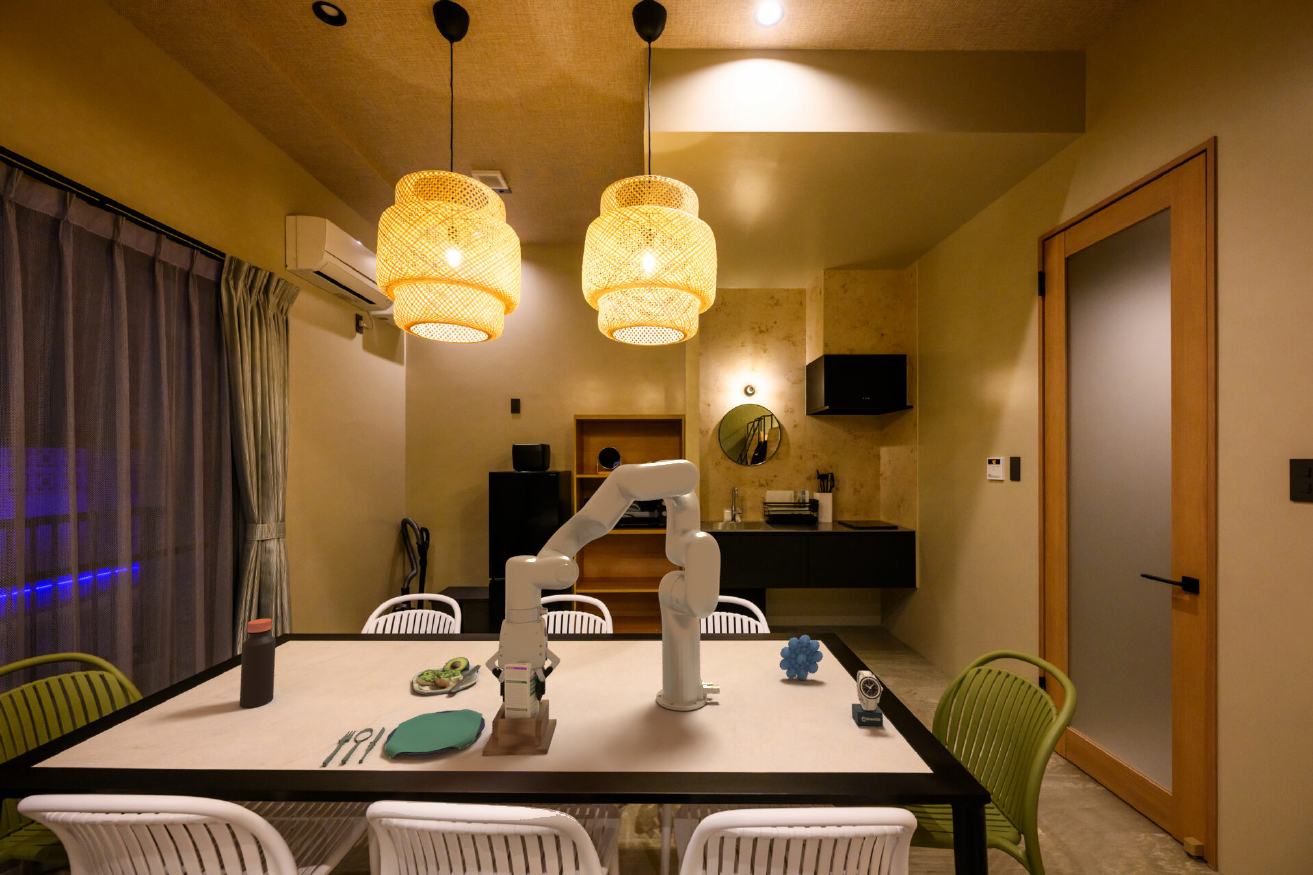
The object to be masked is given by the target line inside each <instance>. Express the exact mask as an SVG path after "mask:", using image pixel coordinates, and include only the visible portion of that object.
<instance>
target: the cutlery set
mask: <svg viewBox="0 0 1313 875" xmlns="http://www.w3.org/2000/svg"><path fill="white" fill-rule="evenodd" d="M485 720H486V719H485V718H484V717H483V713H480V712H478V711H476V710H473V709H470V708H463V709H458V710H453V709H452V710H443V711H436V712H429V713H428V712H427V713H422V714H418V715H416V716H414V717H412V718H410V719H407V720H405V721H402V722H401V723H398V726H397V727H395V728H394V729H393V730H392V731H390V733H389V734H388V735H387V737H386V741H385V746H384V753H385V754H386V756H387V757H388V758H391V759H394V757H395V756H396V755H402V756H408V757H418V756H419V757H420V756H423V757H424V756H426V757H427V756H430V755H431V756H432V755H437V754H441V753H446V752H448V751H452V750H454V749H457V748H458V749H459V750H462V749H463V748H466V747H468V746H470V745H471V744H473V743H474V741H475V740H476V738H477V737H478V736H479V735H481V734H482V732H483V731H484V729H485V727H486V721H485ZM356 732H357V730H354V731H353V730H352V731H348V732H347V733H346V734H345V735H344V736H342V737H341V738H340V739H338V745H337V746H336V747H335V749H334V750H333V751H332V752H331V753H330V754H329V755H328V756H327V757H326V758H325V759H324V760H323V761H322V767H327V766H328V765H329V763H330V762H331V761H332V760H333V759H334V757H335V756H336V755H337V753H338V752H339V751H340V750H341V748H342V747H343V745H345V744H346V743H349V742H350V741H351V739H352V738H353V736H354V734H356ZM368 732H369V733H370V735H369V736H368V737H365V738H363V739H357V738H358V737H359V736H360V735H361V734H364V733H368ZM385 732H386V728H385V726H384V727H383V726H382V728H381V729H380V730H379V732H378V733H377V734H376V736H375V738H374V739H373V740H372V741H369V744H368V745H367V749H366V750H365V752H364V754H363V756H362V757H360V759H359V760H358V764H363V762H364V759H365V758H366V756H367V755H368V753H370V751H371V750H372V749H374V747H375V746H376V744H377V742H378V741H380V739H381V737H382V736H383V735H384V733H385ZM373 733H374V729H373V728H372V727H368V728H364V729H362V730H360V731H359V732H358V733H357V734H356V735H355V738H354V740H355V741H357V743H355V744H354V745H353V747H352V748H350V749H349V750H348V751H347V753H346V754H345V755H344V756H343V758H342V759H341V761H340V762H341V764H346V763H347V762H348V761H349V759H350V758H351V756H352V754H353V753H354V752H355V750H356V749H357V747H358V746H359V745H360V744H361V743H362V742H364V741H366V740H368V739H369V738H370V737H372V735H373Z"/></svg>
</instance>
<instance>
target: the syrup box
mask: <svg viewBox="0 0 1313 875" xmlns="http://www.w3.org/2000/svg"><path fill="white" fill-rule="evenodd" d="M538 680H539V677H538V675H537V673H536V671H535V669H532V665H531V663H528V662H516V663H508V664H506V665H505V719H508V718H537V715H538V713H539V710H540V708H541V704H540V701H538V700H537V682H538Z"/></svg>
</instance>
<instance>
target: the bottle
mask: <svg viewBox="0 0 1313 875" xmlns="http://www.w3.org/2000/svg"><path fill="white" fill-rule="evenodd" d="M272 622H273V619H272V618H258V619H253V620H250V621H248V622H247V630H246V632H247V635H248V637H247V638H246V639H245V640H244V641H243V642H242V644H241V661H240V662H241V665H240V685H239V686H240V688H239V690H240V691H239V692H240V693H239V707H241V708H243V709H251V708H258V707H262V706H265V705H267V704H269V703H271V702H272V701H273V700H274V689H275V688H274V686H275V664H276V663H275V661H276V638H275V637H274V636H273V635H272V634H270V632H272V627H273V626H272V625H273V624H272Z"/></svg>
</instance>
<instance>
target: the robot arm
mask: <svg viewBox="0 0 1313 875" xmlns="http://www.w3.org/2000/svg"><path fill="white" fill-rule="evenodd" d="M700 478H701V476H700V471H699V469H698V467H697V466H696V465H695V463H693V462H692V461H689V460H686V459H664V460H663V459H661V460H657V461H654V462H653V463H633V464H632V463H631V464H628V463H627V464H622V465H619V466H617V467H616V468H614V469H613V470H612V472H611V473H610V474H609V475H608V477H607V478H605V480H604V481H603V483H602V484H601V485H600V486H599V487H598V489H597V490H596V491H595V493H593V495H592V496H591V497H590V499H589V500H588V501H587V502H586V503H585V505H584V506H583V507H582V508H581V509H580V510H579V511H578V512H576V513H575V514H574V515H573V516H572V517H570V519H568V521H566V522H565V523H564V524H563V525H562V526H561V527H559V528H558V530H556V532H555V533H553V535H552V536H551V537H550V538H549V539H548V540H547V542H546V543H545V545H543V547H542V548H541V550H540V551H539V552H538V554H537V555H536V556H535V555H518V556H517V555H516V556H513V557H510V558H508V559H507V560H506V563H505V609H504V610H505V611H504V612H505V617H504V618H505V619H503V620H502V624H501V629H500V633H499V639H498V640H499V642H498V650H497V651H496V652H495V653H494V654H493V655H492V656H490V657H489V658H488V659H487V661H486V662H485V664H484V665H485V667H486V668H487V669H488V670H489V671H490V672H491V673H492V675H493V677H495V678H496V679H497V680H498V683H499V685H500V686H499V689H500V690H499V695H500V697H502V703H503V702H505V665H506V664H508V663H516V662H528V663H531V665H532V669H535V671H536V673H537V675H538V677H539V680H538V682H537V700H538V701H541V700H542V698H543V696H545V695H546V689H547V688H546V683H547V682H546V679H547V678H548V677H549V676H550V675H551V674H552V673H553V671H554V670H555V669H556V668H557V666H559V664H560V662H561V658H560V657H559V656H557V655H556V654H555V653H554V652H553V651H552V650H550V649H549V645H548V642H549V641H548V630H547V624H546V620H545V618H544V617H543V616H545V615H548V613H549V611H548V608H547V607H543V605H542V590H564V589H568V588H570V587H571V586H573V585H574V584H575V583H576V581H577V580H578V578H579V575H580V574H579V573H580V569H579V566H578V563H577V561H576V560H574V556H575V555H576V554H577V553H578V552H579V551H580V550H581V549H582V548H583V547H584V546H586V545H587V544H588V543H590V542H591V541H594V540H597V539H599V538H601V537H603V536H605V535H607V534H608V533H610V532H611V531H612V530H613V529H614V528H615V526H616V525H617V524H618V522H619V521H620V520H621V518H622V517H623V515H625V513H626V511H627V510H628V509H629V508H630V507H631V505H633V503H634V501H638V502H639V501H641V502H643V501H654V500H655V501H656V500H661V499H662V500H663V502H664V504H665V507H666V534H665V555H666V558H667V559H668V561H669V562H671V563H672V564H674V565H675V566H679V567H682V568H684V571H683V570H673V571H672V570H671V571H670V572H668V573H667V574H666V573H665V575H664V576H663V577H662V579H661V580H660V582H659V586H658V602H659V607H660V613H661V614H660V615H661V626H662V628H661V630H662V631H661V633H662V636H661V638H662V640H661V643H662V644H661V646H662V647H661V648H662V649H661V651H662V652H661V654H662V658H661V659H662V673H661V674H662V688H661V689H660V690H659V691H658V692H657V693H656V698H655V699H656V702H657V703H658V705H660V706H661V707H663V708H665V709H668V710H671V711H680V712H681V711H685V712H686V711H687V712H688V711H693V710H697V709H700V708H701V707H703V706H705V705H706V704H707V702H708V694H709V695H711V694H712V695H719V694H720V693H721V692H720V691H721V689H720V685H719V684H718V685H716V684H715V685H714V683H713V682H704V681H702V678H701V626H700V624H701V623H700V620H703V619H706V618H708V617H710V616H711V615H712V614H713V613H714V612H715V610H716V609H717V605H718V602H719V597H720V579H721V577H720V576H721V551H720V547H719V544H718V542H717V540H716V539H715V538H714V536H713V535H712V534H710V533H708V532H706V531H702V530H701V507H700V502H699V498H698V496H697V494H696V492H695V490H696V489H697V487H698V486H699V483H700ZM548 660H549V661H550V662H551V663H550V664H549V665H548V666H547V667H545V666H546V661H548ZM496 661H497V664H496Z"/></svg>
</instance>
